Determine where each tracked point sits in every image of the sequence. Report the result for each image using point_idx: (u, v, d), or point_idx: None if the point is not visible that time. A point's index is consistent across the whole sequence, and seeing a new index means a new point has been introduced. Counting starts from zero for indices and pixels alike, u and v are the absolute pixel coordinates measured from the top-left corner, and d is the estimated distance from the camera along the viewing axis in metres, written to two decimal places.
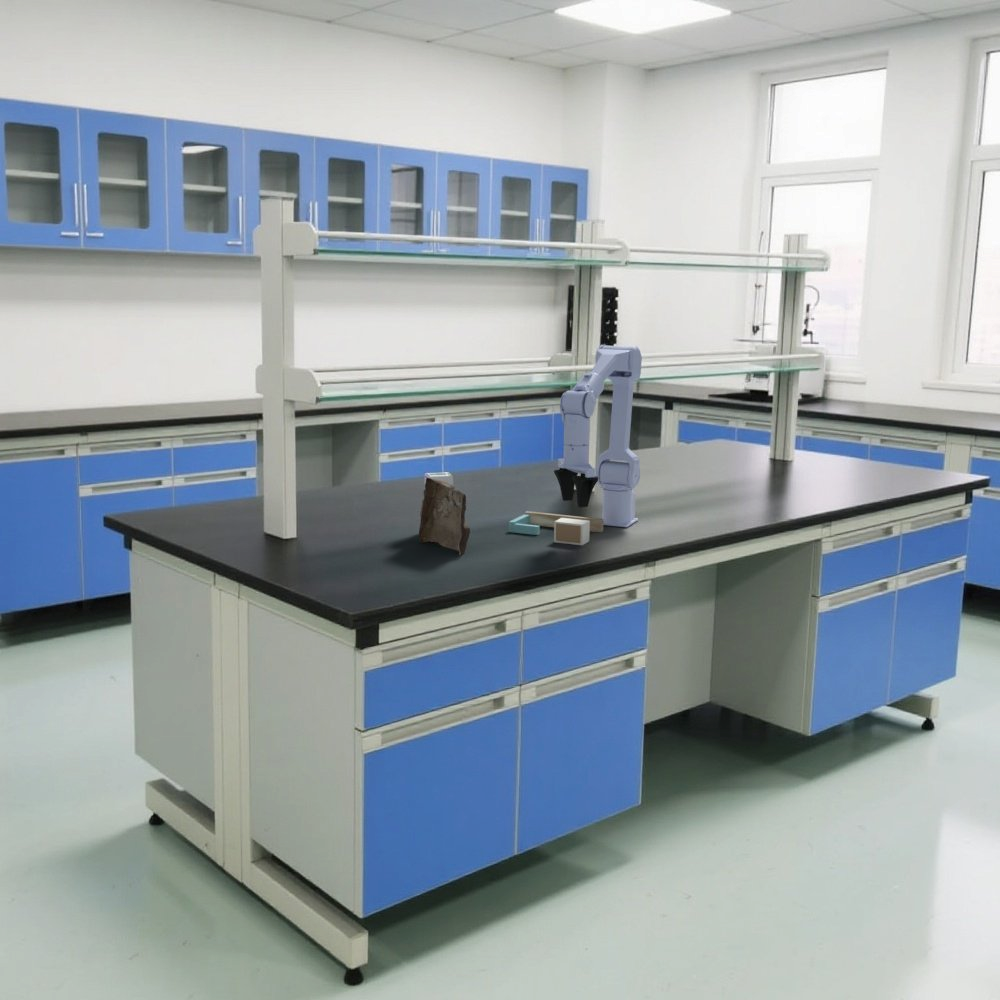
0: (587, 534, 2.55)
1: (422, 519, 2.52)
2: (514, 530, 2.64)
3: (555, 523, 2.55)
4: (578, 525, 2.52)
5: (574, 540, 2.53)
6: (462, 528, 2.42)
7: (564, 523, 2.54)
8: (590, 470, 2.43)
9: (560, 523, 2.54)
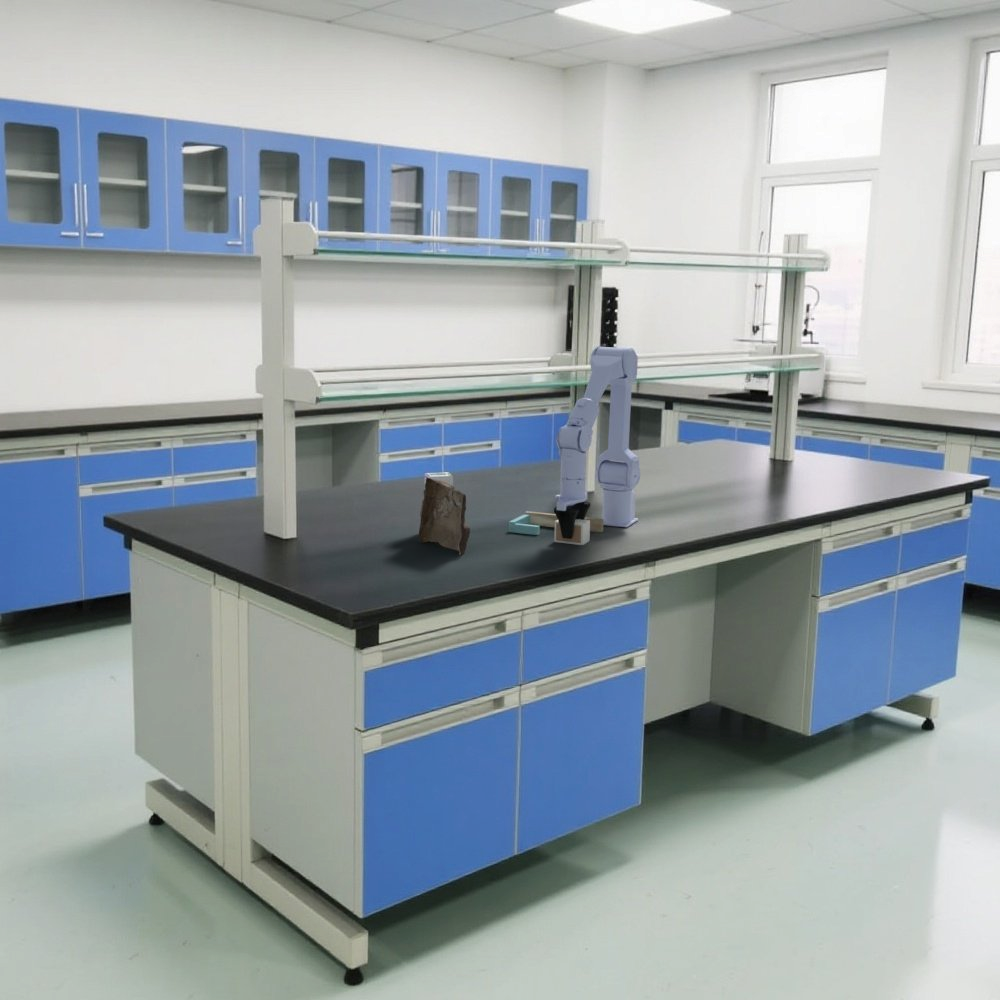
0: (587, 534, 2.55)
1: (422, 519, 2.52)
2: (514, 530, 2.64)
3: (555, 523, 2.55)
4: (578, 525, 2.52)
5: (574, 540, 2.53)
6: (462, 528, 2.42)
7: None
8: (559, 503, 2.48)
9: None
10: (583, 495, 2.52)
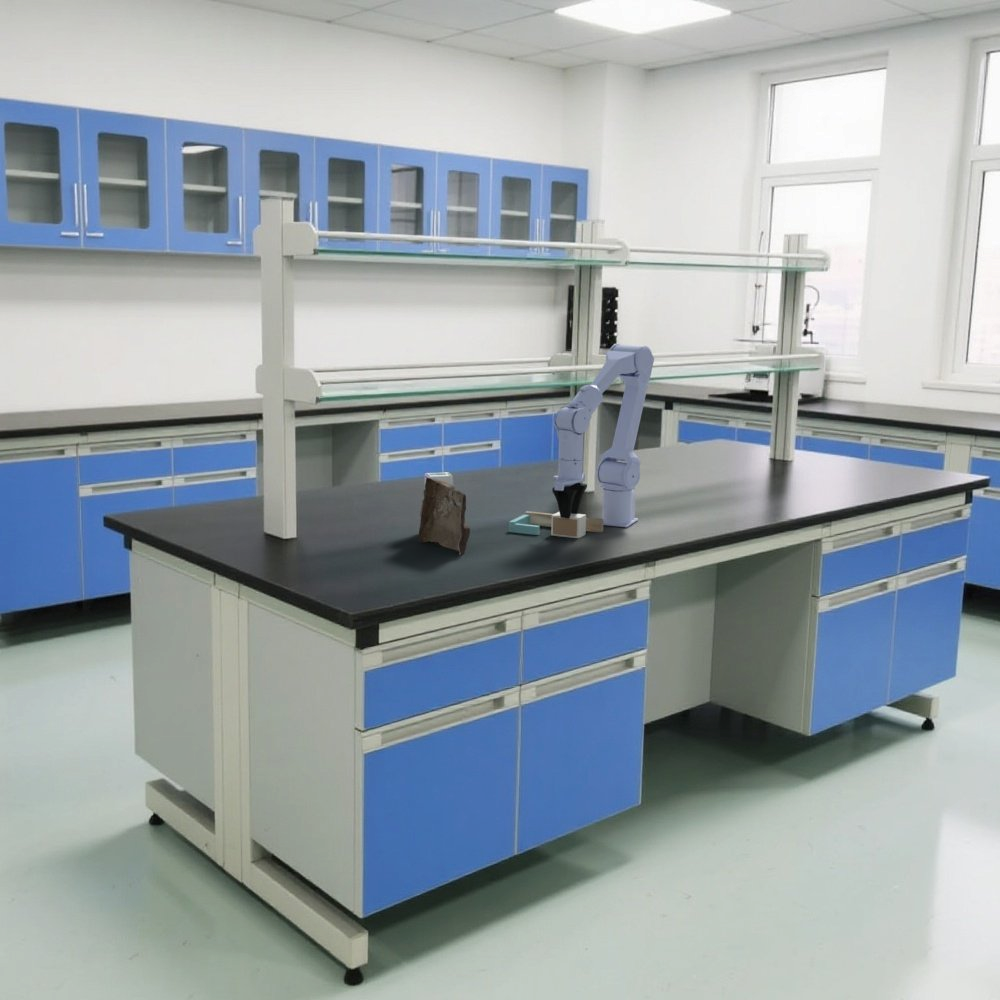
0: (583, 528, 2.62)
1: (422, 519, 2.52)
2: (514, 530, 2.64)
3: (552, 517, 2.61)
4: (574, 519, 2.59)
5: (571, 533, 2.60)
6: (462, 528, 2.42)
7: None
8: (557, 483, 2.54)
9: (557, 517, 2.61)
10: (580, 476, 2.58)
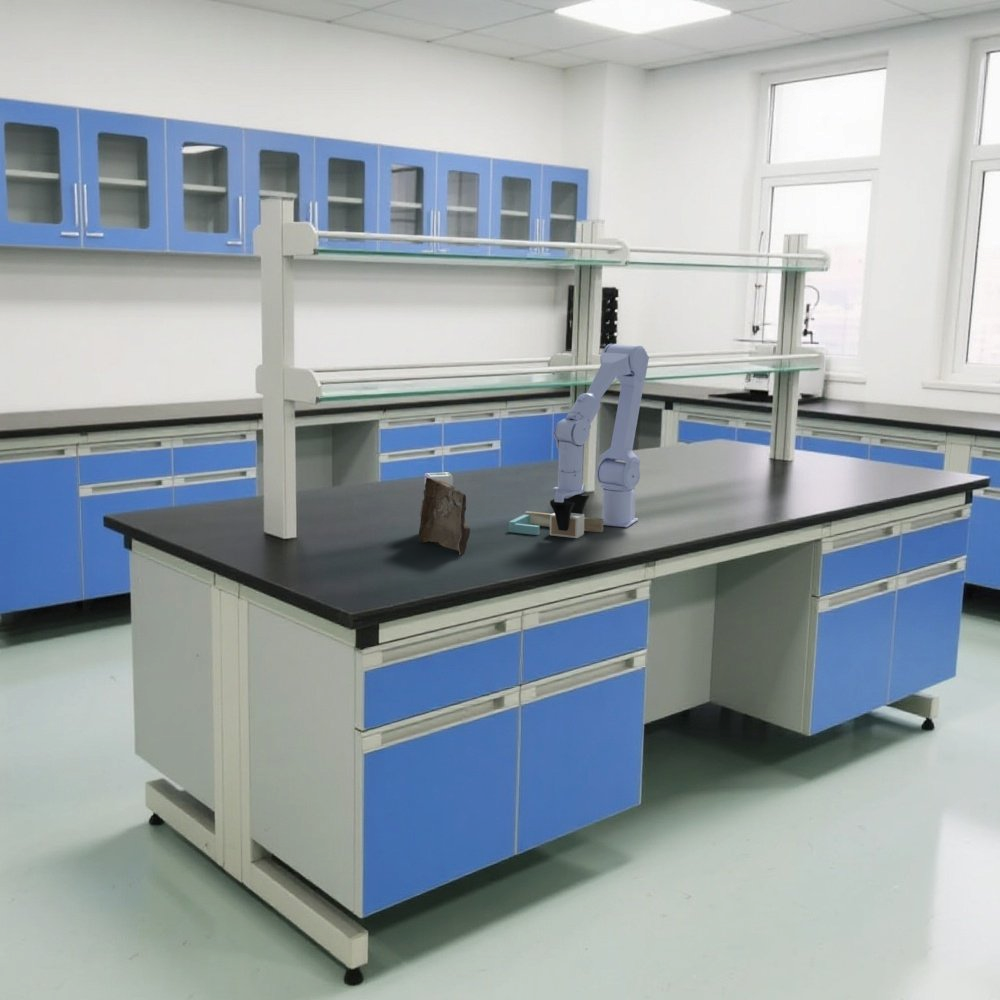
0: (582, 527, 2.62)
1: (422, 519, 2.52)
2: (514, 530, 2.64)
3: (551, 516, 2.62)
4: (573, 518, 2.59)
5: (569, 533, 2.60)
6: (462, 528, 2.42)
7: None
8: (557, 495, 2.54)
9: (555, 516, 2.61)
10: (580, 487, 2.59)
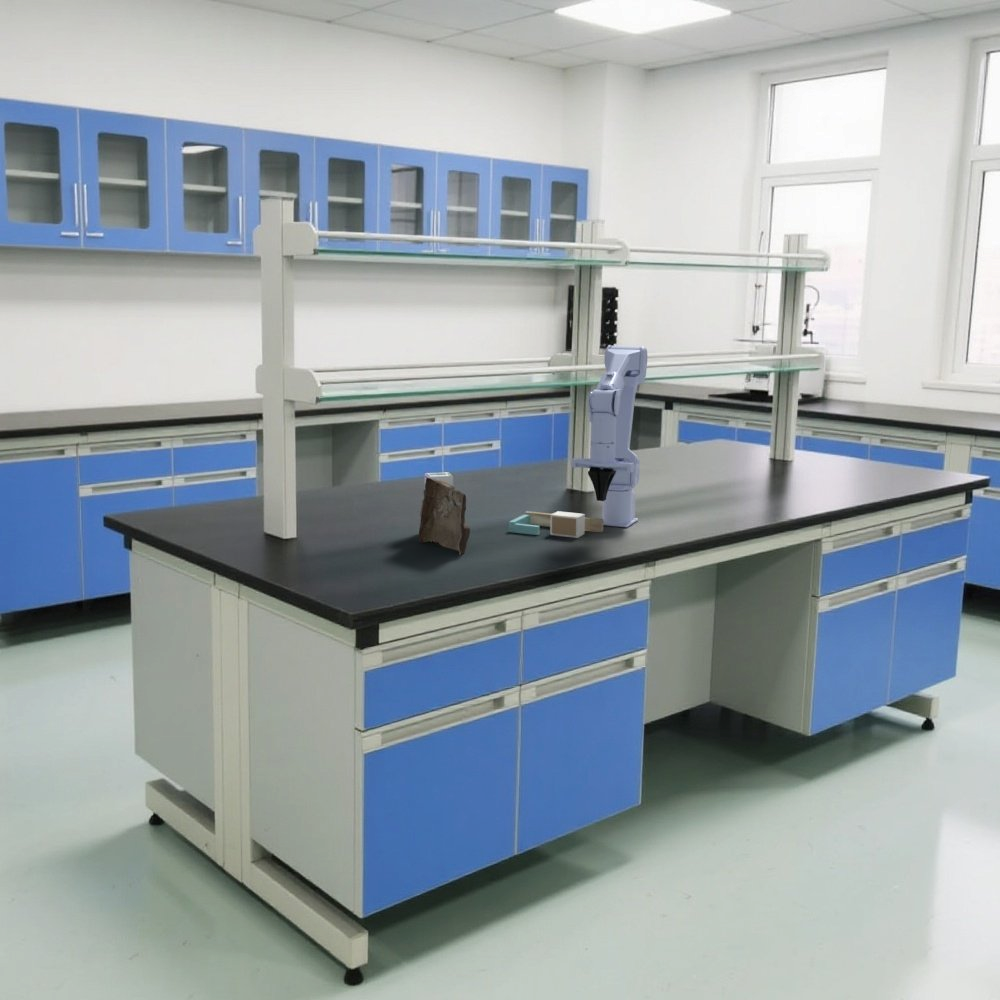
0: (582, 527, 2.62)
1: (422, 519, 2.52)
2: (514, 530, 2.64)
3: (551, 516, 2.62)
4: (573, 518, 2.59)
5: (570, 533, 2.60)
6: (462, 528, 2.42)
7: (560, 516, 2.61)
8: (632, 465, 2.51)
9: (556, 516, 2.61)
10: None
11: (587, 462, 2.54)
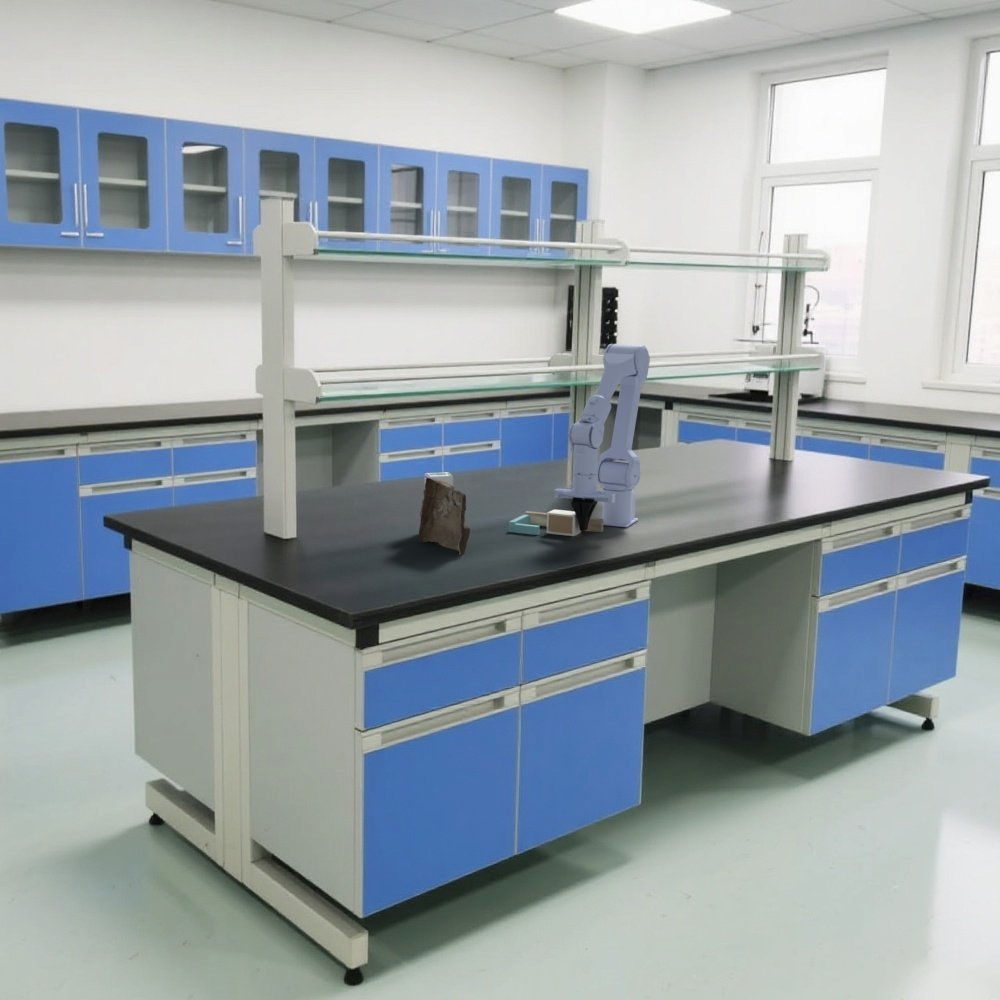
0: None
1: (422, 519, 2.52)
2: (514, 530, 2.64)
3: (548, 514, 2.63)
4: (570, 516, 2.61)
5: (566, 531, 2.61)
6: (462, 528, 2.42)
7: (556, 514, 2.62)
8: (613, 496, 2.57)
9: (553, 514, 2.62)
10: None
11: (569, 493, 2.59)
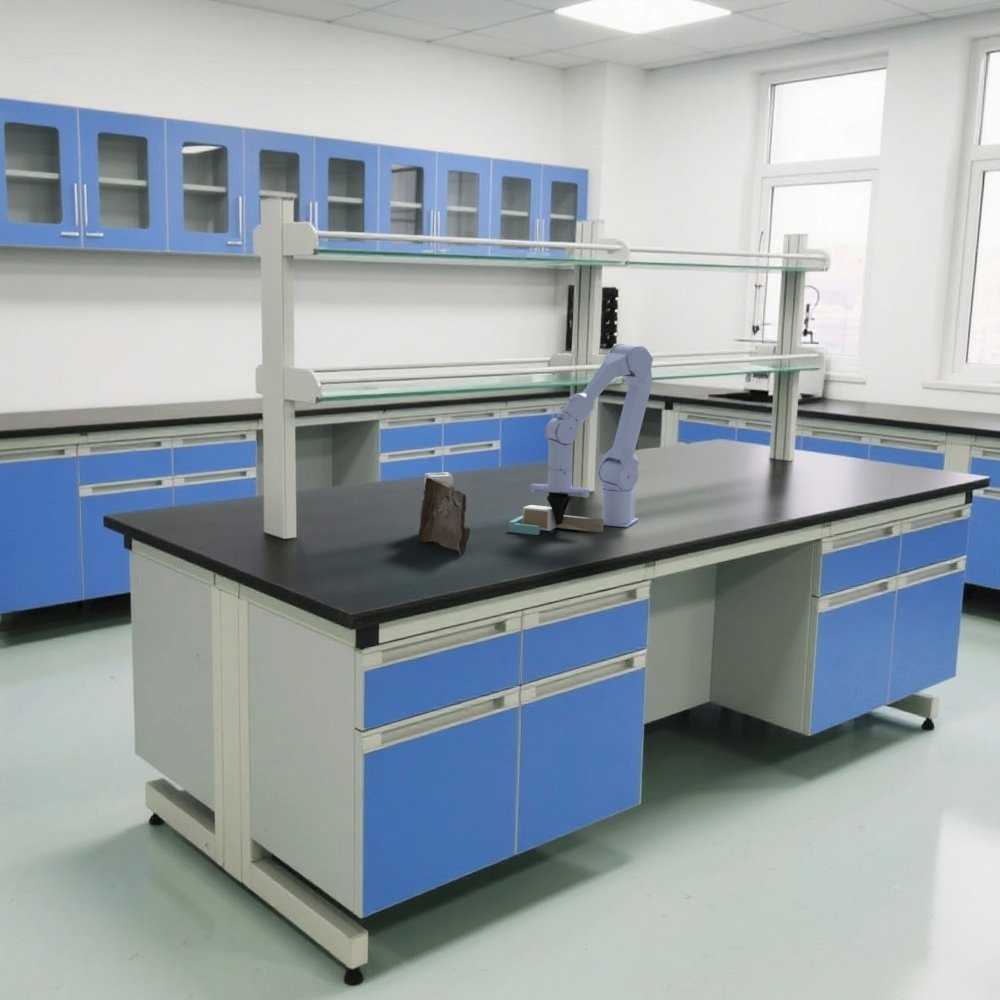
0: (554, 520, 2.69)
1: (422, 519, 2.52)
2: (514, 530, 2.64)
3: (524, 509, 2.68)
4: (545, 511, 2.66)
5: (541, 525, 2.66)
6: (462, 528, 2.42)
7: (532, 509, 2.67)
8: (587, 490, 2.63)
9: (528, 509, 2.67)
10: None
11: (545, 488, 2.65)
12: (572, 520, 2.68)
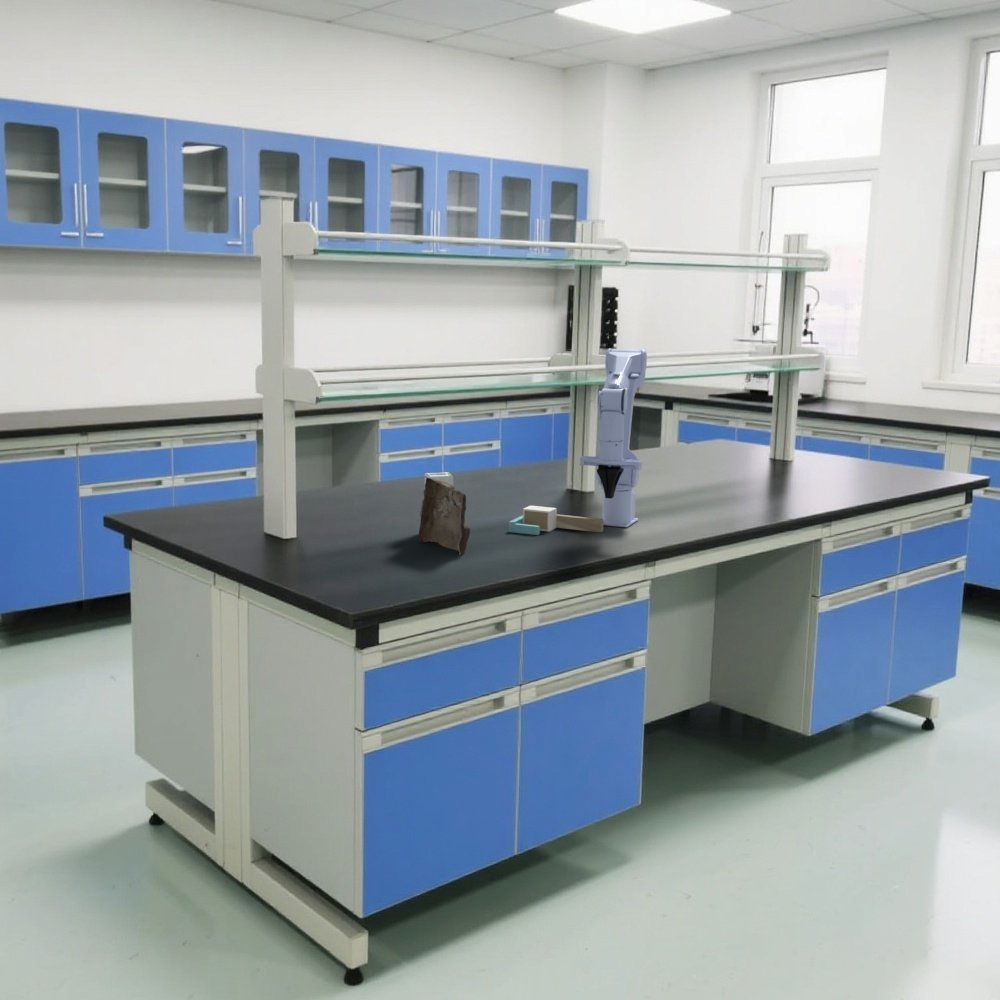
0: (554, 521, 2.69)
1: (422, 519, 2.52)
2: (514, 530, 2.64)
3: (524, 510, 2.68)
4: (545, 512, 2.66)
5: (541, 526, 2.67)
6: (462, 528, 2.42)
7: (532, 510, 2.67)
8: (640, 463, 2.54)
9: (528, 510, 2.67)
10: None
11: (595, 460, 2.57)
12: (572, 520, 2.68)
